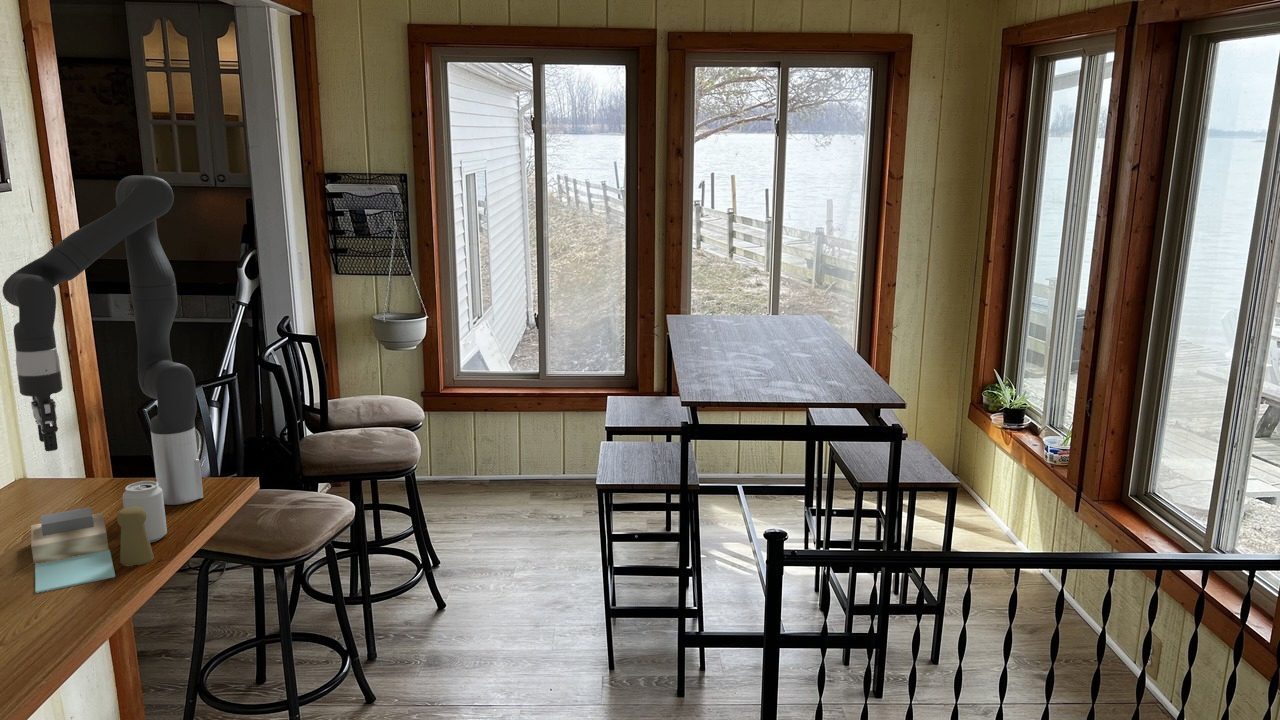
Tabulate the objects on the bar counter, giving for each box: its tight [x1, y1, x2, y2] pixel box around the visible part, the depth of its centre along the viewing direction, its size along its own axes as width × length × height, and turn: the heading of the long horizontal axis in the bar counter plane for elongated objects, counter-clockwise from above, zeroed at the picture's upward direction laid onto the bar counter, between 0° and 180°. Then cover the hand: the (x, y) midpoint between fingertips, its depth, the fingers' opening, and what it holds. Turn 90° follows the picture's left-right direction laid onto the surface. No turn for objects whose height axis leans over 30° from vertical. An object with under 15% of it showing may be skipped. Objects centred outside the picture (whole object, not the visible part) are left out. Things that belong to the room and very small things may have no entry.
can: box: [122, 480, 168, 544], centre depth 197 cm, size 8×8×12 cm
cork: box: [116, 506, 155, 567], centre depth 186 cm, size 6×6×11 cm
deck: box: [30, 512, 110, 565], centre depth 193 cm, size 13×13×4 cm
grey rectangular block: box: [40, 506, 94, 536], centre depth 194 cm, size 9×6×2 cm, turn 123°
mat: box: [34, 549, 116, 594], centre depth 182 cm, size 13×14×1 cm
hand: (48, 445), depth 195 cm, fingers open, 8 cm apart
